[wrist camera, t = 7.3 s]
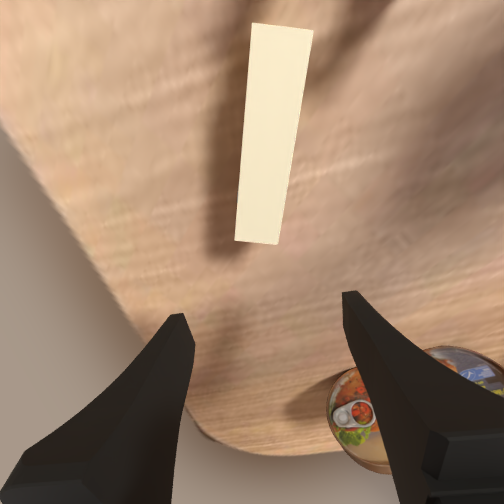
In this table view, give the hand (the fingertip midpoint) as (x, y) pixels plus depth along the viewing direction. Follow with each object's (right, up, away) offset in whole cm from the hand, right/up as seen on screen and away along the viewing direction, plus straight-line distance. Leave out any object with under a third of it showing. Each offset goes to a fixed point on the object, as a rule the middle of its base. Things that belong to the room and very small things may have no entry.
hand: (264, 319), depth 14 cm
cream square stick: (0, +10, +5) cm, 11 cm away
